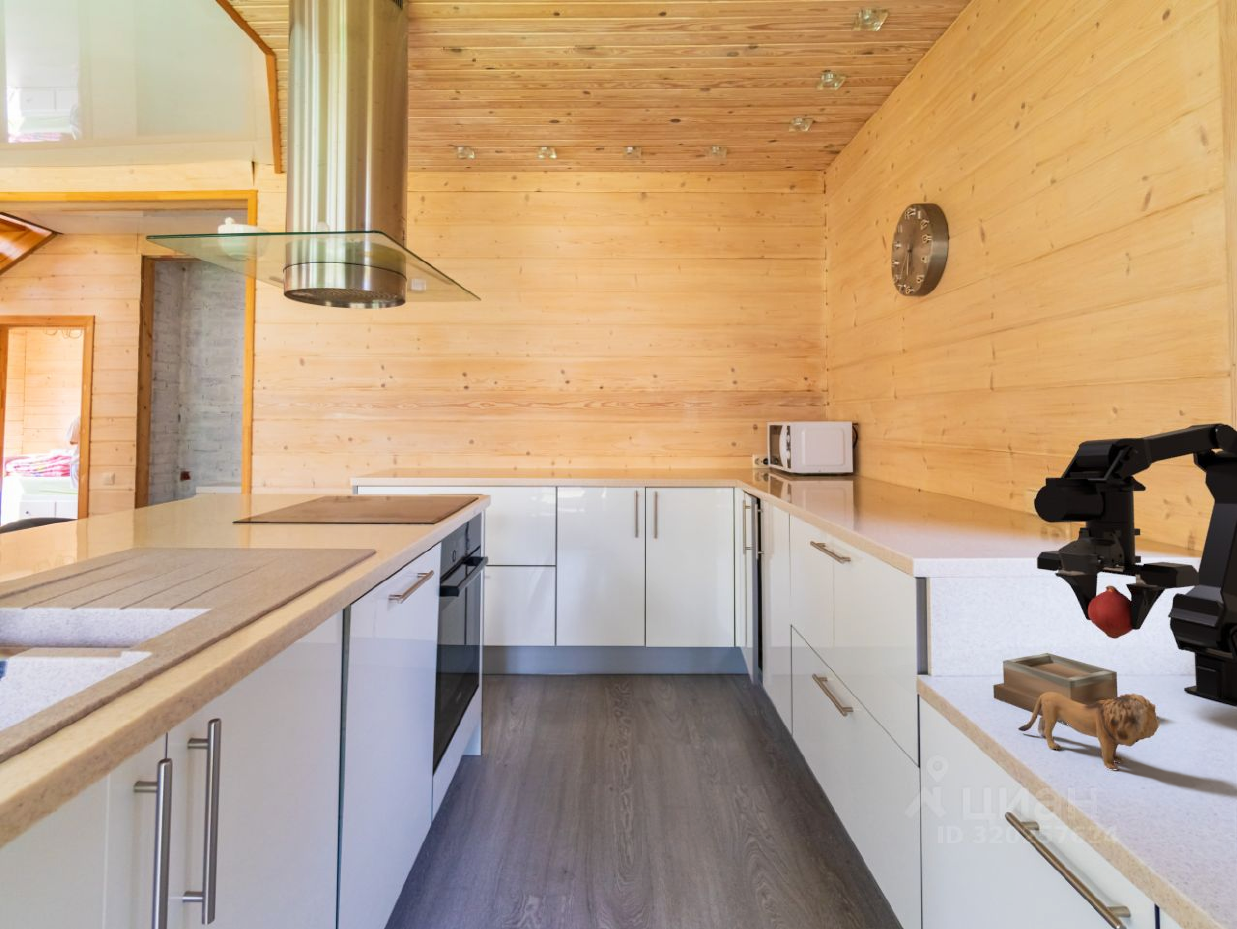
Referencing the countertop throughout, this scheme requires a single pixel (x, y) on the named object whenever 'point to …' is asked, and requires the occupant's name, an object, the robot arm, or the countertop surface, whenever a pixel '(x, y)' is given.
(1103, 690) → the wooden tray on base
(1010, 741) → the countertop surface
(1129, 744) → the lion figurine
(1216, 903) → the countertop surface
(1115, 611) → the onion
